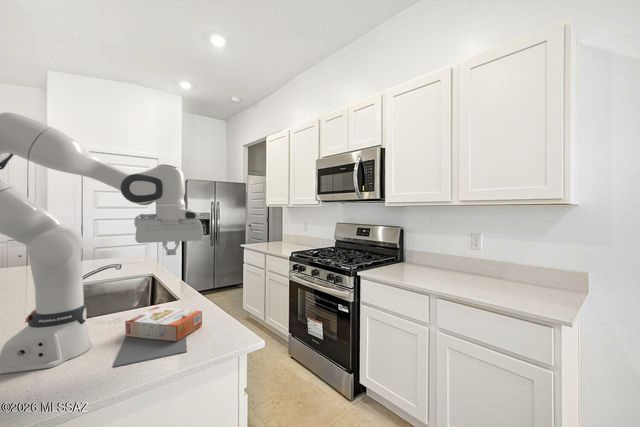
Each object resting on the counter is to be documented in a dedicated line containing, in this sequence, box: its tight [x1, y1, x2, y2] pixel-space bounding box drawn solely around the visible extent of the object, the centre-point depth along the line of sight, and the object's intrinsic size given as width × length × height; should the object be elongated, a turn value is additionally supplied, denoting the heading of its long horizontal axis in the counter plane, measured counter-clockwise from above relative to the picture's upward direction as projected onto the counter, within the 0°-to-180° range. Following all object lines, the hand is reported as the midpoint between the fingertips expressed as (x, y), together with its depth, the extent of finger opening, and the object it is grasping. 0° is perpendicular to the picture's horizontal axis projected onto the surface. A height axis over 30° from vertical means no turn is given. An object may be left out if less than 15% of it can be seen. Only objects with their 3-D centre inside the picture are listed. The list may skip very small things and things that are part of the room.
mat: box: [112, 335, 188, 368], centre depth 95 cm, size 19×22×1 cm
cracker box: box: [124, 306, 203, 342], centre depth 104 cm, size 14×6×21 cm
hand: (171, 254), depth 97 cm, fingers closed
